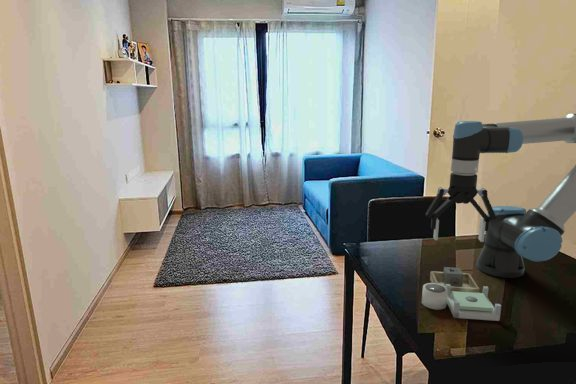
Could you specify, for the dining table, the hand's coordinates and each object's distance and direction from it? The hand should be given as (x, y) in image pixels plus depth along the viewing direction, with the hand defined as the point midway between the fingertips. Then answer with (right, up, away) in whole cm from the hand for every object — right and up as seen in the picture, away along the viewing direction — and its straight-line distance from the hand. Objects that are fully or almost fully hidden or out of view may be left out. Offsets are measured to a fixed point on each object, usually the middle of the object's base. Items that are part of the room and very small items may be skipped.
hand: (458, 239), depth 128 cm
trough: (0, -16, +4) cm, 17 cm away
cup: (-10, -18, -6) cm, 22 cm away
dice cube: (0, -15, +5) cm, 16 cm away
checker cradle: (0, -19, -9) cm, 21 cm away
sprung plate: (0, -17, -9) cm, 19 cm away
